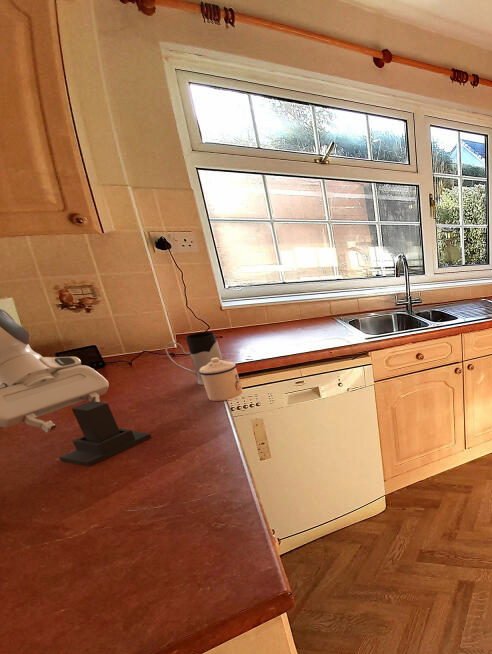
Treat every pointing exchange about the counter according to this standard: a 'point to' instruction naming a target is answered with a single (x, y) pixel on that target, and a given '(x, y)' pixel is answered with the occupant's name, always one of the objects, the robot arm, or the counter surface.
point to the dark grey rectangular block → (96, 421)
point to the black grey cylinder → (200, 351)
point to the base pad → (103, 447)
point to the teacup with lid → (221, 380)
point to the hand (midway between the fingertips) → (77, 420)
